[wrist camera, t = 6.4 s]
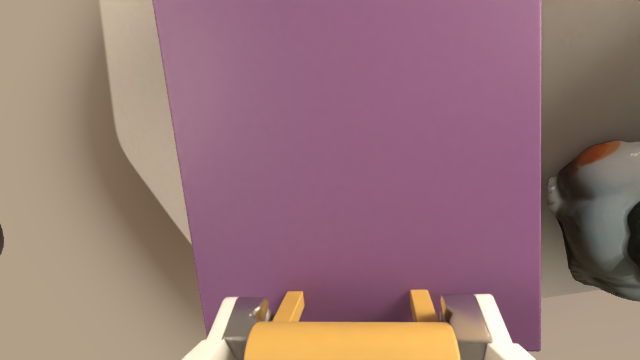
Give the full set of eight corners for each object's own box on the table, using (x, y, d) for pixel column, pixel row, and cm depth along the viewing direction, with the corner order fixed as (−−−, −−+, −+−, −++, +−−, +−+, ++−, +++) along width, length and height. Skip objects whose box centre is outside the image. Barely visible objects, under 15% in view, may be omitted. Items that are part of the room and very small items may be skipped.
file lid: (531, 338, 13) (637, 478, 8) (215, 335, 15) (136, 440, 10) (529, -189, 10) (691, -511, 5) (148, -95, 13) (-7, -250, 7)
